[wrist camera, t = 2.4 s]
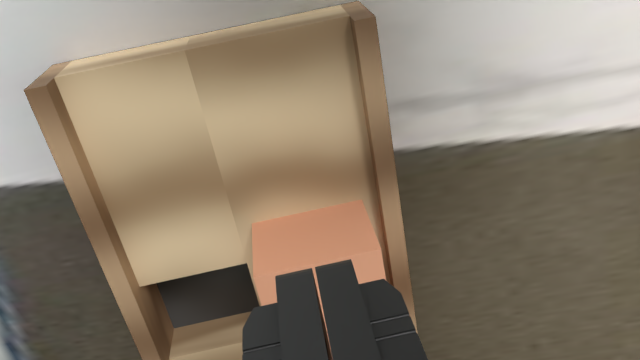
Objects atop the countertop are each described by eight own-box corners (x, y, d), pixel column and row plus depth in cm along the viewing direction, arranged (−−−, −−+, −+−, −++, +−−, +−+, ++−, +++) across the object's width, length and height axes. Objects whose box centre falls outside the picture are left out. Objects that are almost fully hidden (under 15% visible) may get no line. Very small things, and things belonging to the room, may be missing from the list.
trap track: (52, 64, 24) (2, 108, 19) (358, 0, 24) (387, 27, 19) (211, 456, 35) (206, 547, 30) (417, 409, 35) (445, 491, 30)
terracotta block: (251, 223, 25) (252, 277, 22) (362, 199, 25) (381, 248, 22) (280, 325, 28) (285, 388, 24) (379, 303, 28) (398, 362, 25)
